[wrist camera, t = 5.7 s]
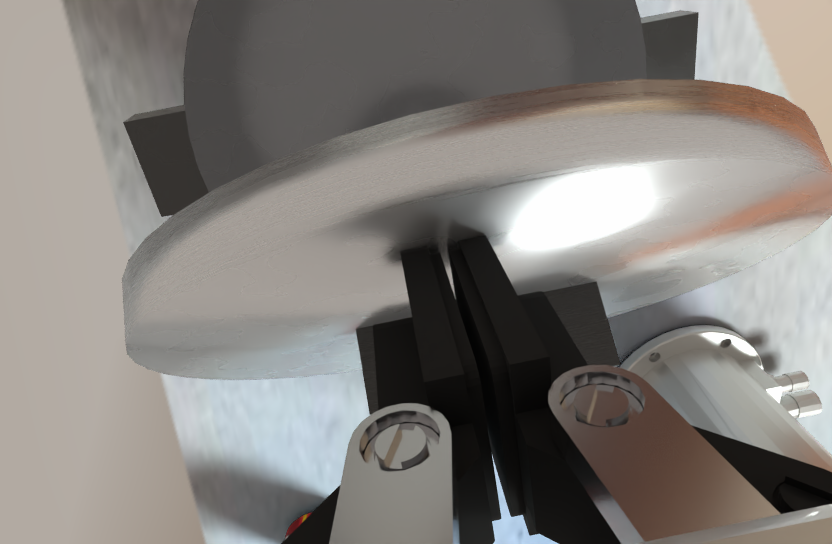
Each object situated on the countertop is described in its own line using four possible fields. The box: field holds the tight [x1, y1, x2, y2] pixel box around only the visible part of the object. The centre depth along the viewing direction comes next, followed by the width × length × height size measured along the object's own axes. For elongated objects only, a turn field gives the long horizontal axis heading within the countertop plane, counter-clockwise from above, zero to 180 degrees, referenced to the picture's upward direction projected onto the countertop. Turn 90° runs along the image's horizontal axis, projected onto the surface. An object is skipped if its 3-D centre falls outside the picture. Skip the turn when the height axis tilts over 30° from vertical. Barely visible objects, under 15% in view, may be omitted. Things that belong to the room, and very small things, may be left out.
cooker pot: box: [123, 0, 698, 217], centre depth 28 cm, size 23×18×12 cm
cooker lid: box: [122, 79, 832, 415], centre depth 17 cm, size 19×19×4 cm
